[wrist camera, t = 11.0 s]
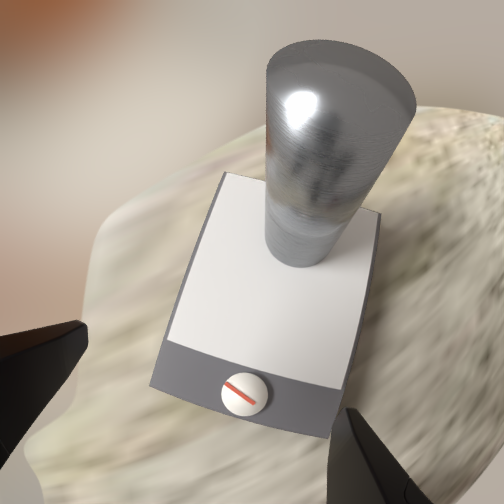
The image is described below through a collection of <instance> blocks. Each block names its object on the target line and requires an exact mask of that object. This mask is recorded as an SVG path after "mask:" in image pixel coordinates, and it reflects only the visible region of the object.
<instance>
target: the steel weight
mask: <svg viewBox="0 0 504 504" xmlns="http://www.w3.org/2000/svg"><path fill="white" fill-rule="evenodd" d="M266 72H267V73H266V77H267V78H266V83H267V84H266V180H265V241H266V245H267V247H268V249H269V251H270V252H271V254H272V255H273V256H274V257H275V258H276V259H277V260H279V261H280V262H282V263H283V264H285V265H288V266H291V267H296V268H306V267H310V266H313V265H316V264H318V263H319V262H321V261H322V260H323V259H324V258H325V257H326V256H327V255H328V254H329V252H330V251H331V249H332V248H333V246H334V245H335V243H336V242H337V240H338V239H339V237H340V236H341V234H342V233H343V232H344V230H345V229H346V227H347V225H348V224H349V222H350V221H351V219H352V218H353V216H354V215H355V213H356V212H357V210H358V209H359V207H360V206H361V204H362V203H363V201H364V199H365V198H366V196H367V195H368V193H369V192H370V190H371V188H372V187H373V185H374V184H375V182H376V180H377V179H378V177H379V175H380V174H381V172H382V171H383V169H384V167H385V166H386V164H387V162H388V161H389V159H390V157H391V156H392V154H393V152H394V151H395V149H396V147H397V146H398V144H399V142H400V140H401V139H402V137H403V135H404V133H405V132H406V130H407V128H408V126H409V125H410V123H411V121H412V119H413V118H414V116H415V112H416V105H417V104H416V98H415V95H414V92H413V90H412V88H411V86H410V84H409V83H408V81H407V80H406V79H405V77H404V76H403V75H402V74H401V73H400V72H399V71H398V70H397V69H396V68H395V67H394V66H392V65H391V64H390V63H389V62H387V61H386V60H384V59H383V58H381V57H380V56H378V55H376V54H374V53H372V52H370V51H368V50H365V49H363V48H361V47H358V46H355V45H352V44H348V43H344V42H339V41H332V40H307V41H301V42H296V43H293V44H290V45H288V46H286V47H284V48H282V49H280V50H279V51H278V52H276V53H275V54H274V55H273V57H272V58H271V59H270V61H269V63H268V65H267V70H266Z"/></svg>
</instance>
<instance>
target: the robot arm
mask: <svg viewBox="0 0 504 504" xmlns="http://www.w3.org/2000/svg"><path fill="white" fill-rule="evenodd" d="M87 347H88V328H87V325H86V324H85V323H83V322H81V321H79V320H74V321H69V322H65V323H60V324H56V325H51V326H46V327H42V328H37V329H32V330H28V331H23V332H19V333H13V334H9V335H3V336H0V469H1V468H2V467H3V465H4V464H5V462H6V461H7V459H8V458H9V456H10V454H11V453H12V452H13V450H14V449H15V447H16V446H17V445H18V443H19V442H20V440H21V439H22V438H23V436H24V435H25V433H26V432H27V431H28V429H29V428H30V427H31V425H32V424H33V423H34V421H35V420H36V418H37V417H38V416H39V415H40V413H41V412H42V411H43V409H44V408H45V407H46V405H47V404H48V403H49V401H50V400H51V399H52V398H53V396H54V395H55V394H56V392H57V391H58V390H59V389H60V387H61V386H62V385H63V384H64V382H65V381H66V380H67V378H68V377H69V375H70V374H71V372H72V370H73V369H74V368H75V366H76V364H77V363H78V361H79V360H80V358H81V357H82V355H83V353H84V352H85V350H86V349H87ZM327 504H433V503H432V502H431V501H430V500H429V499H428V498H427V497H426V496H425V494H424V493H423V492H422V491H421V490H420V489H419V487H418V486H417V485H416V484H415V483H414V481H413V480H412V479H411V478H409V475H408V474H407V473H406V471H405V470H404V469H403V468H402V466H401V465H400V464H399V463H398V461H397V460H396V459H395V458H394V456H393V455H392V454H391V453H390V451H389V450H388V449H387V447H386V446H385V445H384V444H383V442H382V441H381V440H380V439H379V437H378V436H377V435H376V433H375V432H374V431H373V430H372V428H371V427H370V426H369V424H368V423H367V422H366V421H365V419H364V418H363V417H362V415H361V414H360V413H359V412H358V410H357V409H355V408H350V407H344V408H343V409H342V410H341V412H340V413H339V415H338V416H337V418H336V419H335V421H334V423H333V425H332V431H331V440H330V448H329V456H328V465H327Z"/></svg>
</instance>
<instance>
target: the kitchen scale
mask: <svg viewBox="0 0 504 504" xmlns="http://www.w3.org/2000/svg"><path fill="white" fill-rule="evenodd" d="M380 221H381V213H378V212H375V211H371V210H368V209H365V208H362V207H359V209H358V210H357V212H356V213H355V215H354V216H353V218H352V219H351V221H350V222H349V224H348V225H347V227H346V229H345V230H344V232H343V233H342V234H341V236H340V237H339V239H338V240H337V242H336V243H335V245H334V246H333V248H332V249H331V251H330V252H329V254H328V255H327V256H326V257H325V258H324V259H323V260H322V261H321V262H319V263H318V264H316V265H313V266H310V267H306V268H296V267H291V266H288V265H285V264H283V263H282V262H280V261H279V260H277V259H276V258H275V257H274V256H273V255H272V254H271V252H270V251H269V249H268V247H267V245H266V241H265V181H263V180H259V179H255V178H251V177H246V176H242V175H237V174H233V173H228V172H224V173H223V176H222V178H221V181H220V183H219V185H218V188H217V190H216V193H215V195H214V198H213V201H212V203H211V206H210V208H209V211H208V213H207V216H206V219H205V221H204V224H203V226H202V229H201V232H200V234H199V237H198V240H197V242H196V245H195V248H194V251H193V253H192V256H191V259H190V262H189V264H188V267H187V270H186V273H185V276H184V278H183V281H182V284H181V287H180V290H179V293H178V296H177V299H176V302H175V305H174V308H173V311H172V314H171V317H170V320H169V323H168V326H167V329H166V332H165V335H164V338H163V342H162V345H161V348H160V351H159V354H158V358H157V361H156V364H155V368H154V371H153V374H152V378H151V381H150V385H149V386H150V387H153V388H155V389H157V390H160V391H162V392H165V393H167V394H170V395H172V396H175V397H177V398H180V399H182V400H185V401H188V402H190V403H193V404H196V405H199V406H202V407H205V408H207V409H210V410H213V411H216V412H219V413H223V414H226V415H229V416H232V417H236V418H239V419H242V420H246V421H249V422H253V423H257V424H261V425H264V426H268V427H272V428H277V429H281V430H285V431H290V432H294V433H299V434H304V435H309V436H314V437H320V438H326V439H328V438H329V435H330V432H331V429H332V425H333V423H334V421H335V418H336V415H337V412H338V409H339V406H340V403H341V400H342V397H343V394H344V390H345V387H346V384H347V380H348V377H349V374H350V370H351V366H352V363H353V359H354V355H355V352H356V348H357V344H358V340H359V336H360V332H361V327H362V323H363V319H364V314H365V310H366V305H367V300H368V295H369V290H370V285H371V280H372V274H373V268H374V262H375V256H376V250H377V243H378V236H379V229H380Z"/></svg>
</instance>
